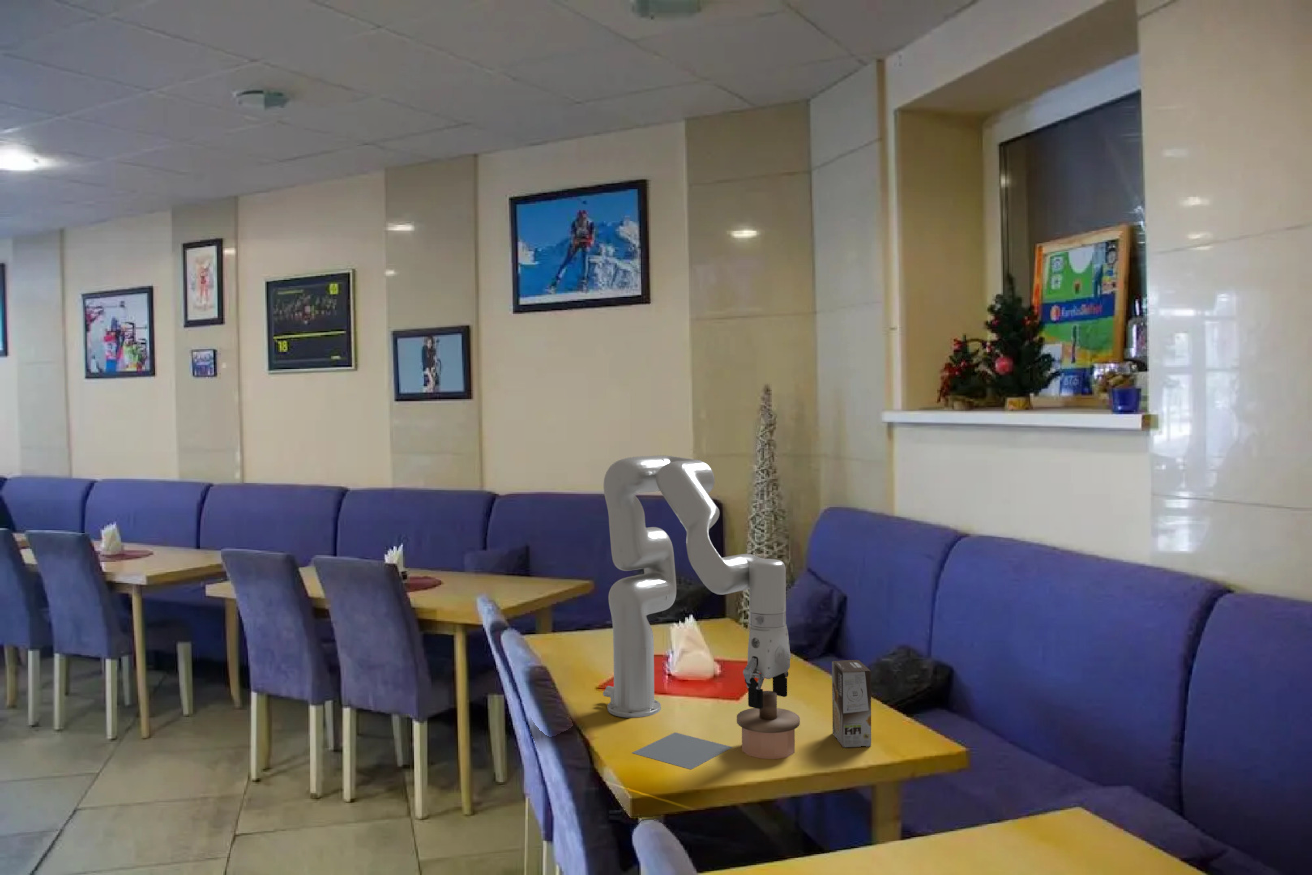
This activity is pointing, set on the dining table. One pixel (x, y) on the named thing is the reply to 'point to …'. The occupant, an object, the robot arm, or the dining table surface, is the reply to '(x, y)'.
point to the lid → (768, 717)
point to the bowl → (768, 744)
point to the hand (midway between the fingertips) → (768, 701)
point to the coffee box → (851, 703)
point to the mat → (682, 750)
